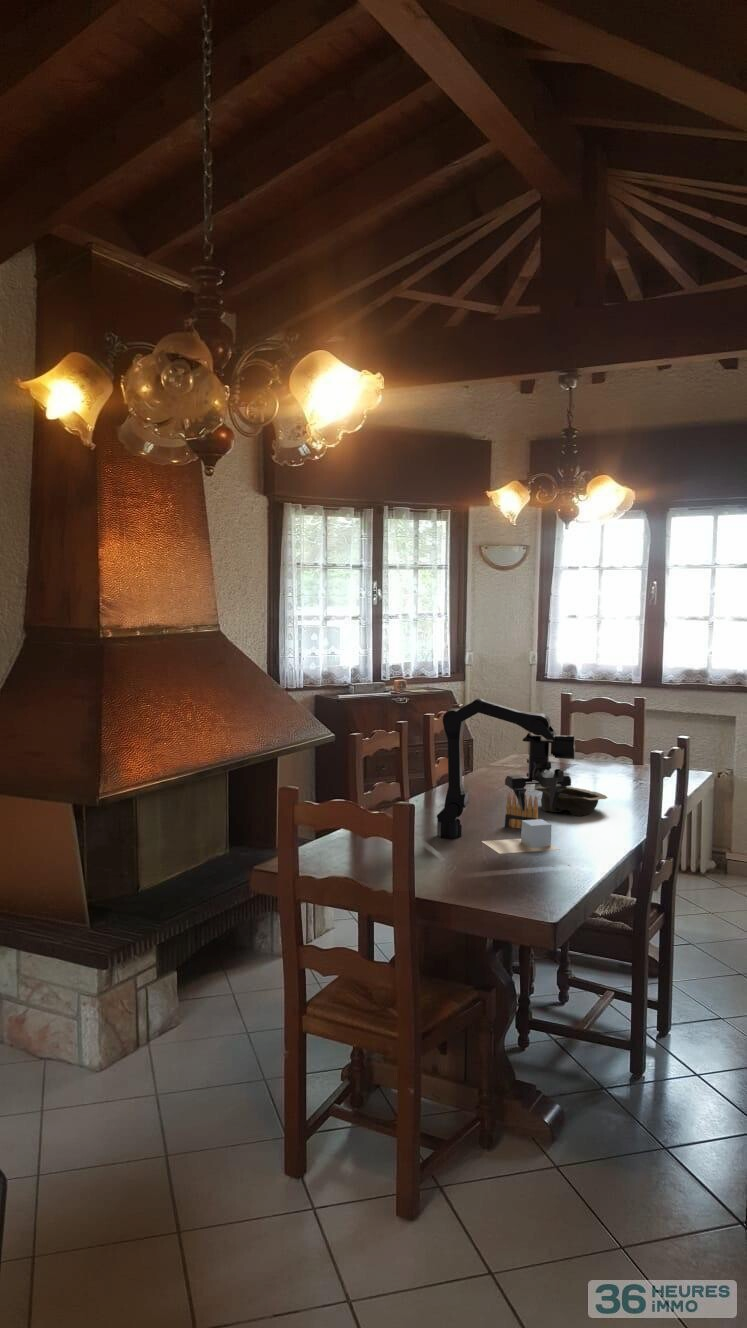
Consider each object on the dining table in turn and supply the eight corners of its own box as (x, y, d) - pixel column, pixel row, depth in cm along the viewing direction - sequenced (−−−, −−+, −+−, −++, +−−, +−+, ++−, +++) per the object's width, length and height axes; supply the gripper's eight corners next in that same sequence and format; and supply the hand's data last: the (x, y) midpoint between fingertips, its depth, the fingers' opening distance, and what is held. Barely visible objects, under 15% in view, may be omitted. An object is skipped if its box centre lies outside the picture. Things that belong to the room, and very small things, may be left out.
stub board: (499, 857, 254) (499, 839, 254) (481, 845, 267) (481, 827, 266) (560, 853, 260) (560, 835, 259) (539, 841, 272) (540, 824, 272)
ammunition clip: (538, 833, 281) (539, 795, 280) (536, 834, 280) (537, 796, 279) (506, 828, 287) (507, 791, 286) (504, 829, 285) (505, 792, 284)
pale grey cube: (530, 847, 261) (531, 825, 260) (521, 841, 267) (521, 820, 266) (550, 846, 262) (551, 824, 262) (540, 840, 269) (541, 819, 268)
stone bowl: (524, 813, 306) (525, 785, 306) (545, 804, 329) (546, 778, 328) (596, 821, 295) (598, 793, 295) (614, 811, 317) (615, 785, 317)
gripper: (521, 763, 252) (520, 818, 253) (581, 760, 258) (579, 814, 259) (504, 756, 263) (503, 809, 264) (562, 754, 268) (561, 805, 269)
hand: (537, 809), depth 264 cm, fingers open, 9 cm apart
